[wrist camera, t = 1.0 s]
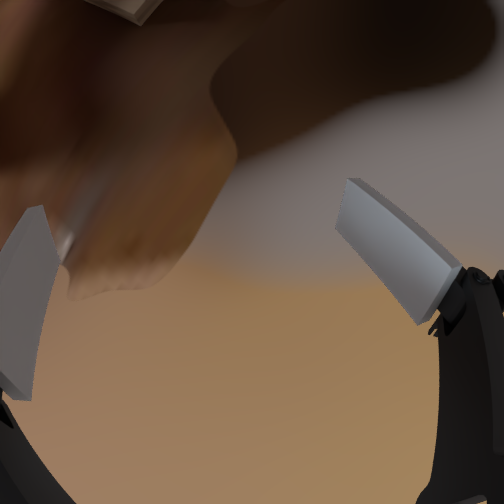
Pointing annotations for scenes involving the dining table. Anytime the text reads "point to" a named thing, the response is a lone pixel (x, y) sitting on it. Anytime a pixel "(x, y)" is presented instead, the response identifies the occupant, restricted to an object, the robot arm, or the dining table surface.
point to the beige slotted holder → (129, 8)
